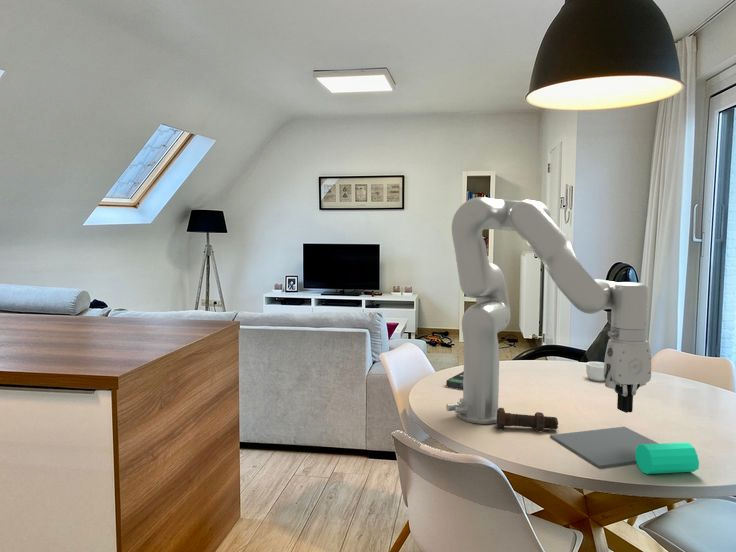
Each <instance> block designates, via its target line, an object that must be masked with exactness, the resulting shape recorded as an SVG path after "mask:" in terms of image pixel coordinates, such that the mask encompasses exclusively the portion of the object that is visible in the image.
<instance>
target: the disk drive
mask: <svg viewBox="0 0 736 552" xmlns="http://www.w3.org/2000/svg"><path fill="white" fill-rule="evenodd" d="M463 380H464V370H463V371H462V372H460V373H458V374H455V376H452V377H450V378H448V379H446V382H445V383H446V384H445V385H446V386H448V387H447V388H450V387H452V388H451V389H455V388H458V389H457V390H461V389H463Z"/></svg>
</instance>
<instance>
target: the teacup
mask: <svg viewBox="0 0 736 552" xmlns="http://www.w3.org/2000/svg"><path fill="white" fill-rule="evenodd" d="M585 368H586V369H585V370H586V375H587V377H588V378H589V379H590V380H592V381H593V382H594V381H595V382H606V379H605V378H604V362H601V361H587V362H586V364H585Z"/></svg>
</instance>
